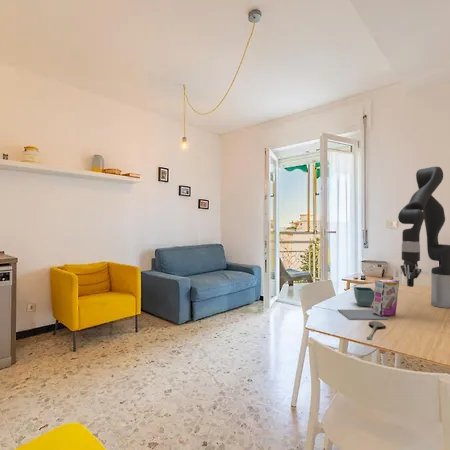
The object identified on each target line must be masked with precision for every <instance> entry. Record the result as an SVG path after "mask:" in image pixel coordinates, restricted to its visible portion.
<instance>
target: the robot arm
mask: <svg viewBox="0 0 450 450" xmlns="http://www.w3.org/2000/svg"><path fill="white" fill-rule="evenodd" d="M415 177H416V183H417V188H418V189H417V190H416V191H415V192H414V193H413V195H412V196H411V198H410V199H409V202H408V203H407V204H406V205H405V206H403V207H402V209H401V210H400V211H399V213H398V216H397V219H398V222H399V223H401V224H404V225H412V226H411V228H405V229H403V230H402V239H401V241H402V242H401V260H402V261H403V265H400V269H401V272H402V274H403V276H404V277H406V283H407V284H406V285H407V287H409V288H413V287H414V286H415V285H414V284H415V281H414V280H415V279H418V277H419V276H420V275H421V272H422V268H419V264H418V262H420V261H421V243H420V233H421V229H422V226H423V223H424V225H425V232H426V250H427V255H428V258H429V259H430V260H431V261H434V262H435V261H437V262H440V265H439V266H435V267H432V268H431V278H430V279H431V281H430V282H431V283H430V284H431V285H430V286H431V287H430V290H431V291H430V293H431V294H430V304H431V305H432V306H434V307H436V308H437V307H438V308H445V309H446V308H447V309H450V244H442V243H441V244H440V243H439V233H440V232H441V230H442V228H443V226H444V224H445V222H446V215H445V209H444V207H443V205H442V204H441V203H440V202H439V201H438V200H437V199H436V198H435V197H434V196H433V193H434V192H435V190H437V188H438V187H439V186H440V184H441V183H442V181H443V180H444V170H443V169H442V167H440V166H431V167H424V168H421V169H420V168H419V169H418V170H417V171H416V174H415Z"/></svg>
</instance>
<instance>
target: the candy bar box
mask: <svg viewBox="0 0 450 450" xmlns="http://www.w3.org/2000/svg"><path fill="white" fill-rule="evenodd" d="M374 283H375V285H374V291H375V292H374V300H373V303H372V310H373V311H372V313H373V314H376V315H379V316H384V317H386V316H395V315H396V314H397V304H398V296H399V286H400V282H399V281H396V280H392V279H375V281H374Z"/></svg>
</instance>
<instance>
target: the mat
mask: <svg viewBox="0 0 450 450" xmlns="http://www.w3.org/2000/svg"><path fill="white" fill-rule="evenodd" d="M337 311H338V313H340V314H341V315H343V316H344V317H345V318H346V319H347V320H349V321H389V318H388V317H386V316H379V315H376V314H373V313H372V311H373V309H337Z"/></svg>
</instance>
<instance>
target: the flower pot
mask: <svg viewBox="0 0 450 450" xmlns="http://www.w3.org/2000/svg"><path fill="white" fill-rule="evenodd" d="M353 291H354V292H353V293H354V298H355V301H356V303H357V305H359V307H371V306H372V305H373V301H374V292H375V289H373V288H372V287H361V286H353Z"/></svg>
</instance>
